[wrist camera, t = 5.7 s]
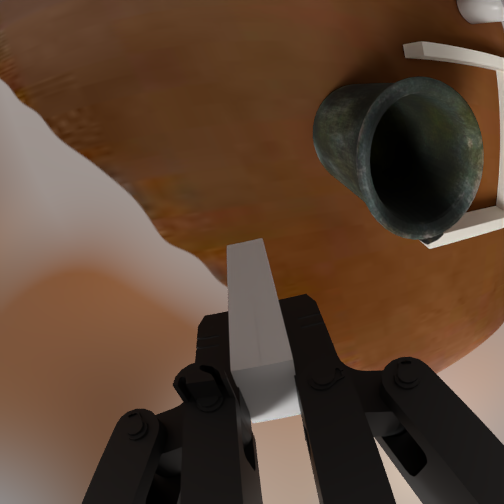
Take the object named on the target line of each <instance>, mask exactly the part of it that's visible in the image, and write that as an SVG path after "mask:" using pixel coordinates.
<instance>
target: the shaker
mask: <svg viewBox="0 0 504 504" xmlns="http://www.w3.org/2000/svg"><path fill="white" fill-rule="evenodd" d="M457 6H458V9H459V11H460V13H461V15H462V16H463V17H464V19H465V20H466V21H468V22H469V23H471V24H479V23H489V22H501V21H504V0H457Z"/></svg>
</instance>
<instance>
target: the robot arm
mask: <svg viewBox="0 0 504 504" xmlns="http://www.w3.org/2000/svg"><path fill="white" fill-rule="evenodd" d="M227 278H228V312H222V313H217V314H212V315H206V316H204V318H203V320H202V321H201V323H200V324H199V326H198V334H197V347H196V348H197V350H196V359H195V363H193V364H190V365H188V366H187V367H185V368H184V369H182V370H181V371H180V372H179V373H178V375H177V376H176V377H175V380H174V383H173V386H174V388H175V390H176V391H177V393H178V394H179V395H180V397H181V399H182V400H183V403H182V404H181V405H179V406H178V407H175V408H173V409H171V410H168V411H165V412H163V413H160V414H157V415H154V413H153V412H151V411H149V410H146V409H135V410H132V411H129V412H127V413H126V414H125V415H123V416H122V417H121V418H120V420H119V421H118V422H117V424H116V426H115V428H114V430H113V433H112V435H111V437H110V439H109V441H108V444H107V446H106V448H105V451H104V453H103V455H102V457H101V459H100V462H99V464H98V466H97V469H96V471H95V473H94V476H93V478H92V480H91V483H90V485H89V487H88V490H87V492H86V495H85V497H84V499H83V502H82V504H263V502H262V494H261V485H260V477H259V468H258V460H257V451H256V442H255V438H254V435H253V432H252V429H251V420H252V423H257V422H263V421H269V420H275V419H280V418H285V417H290V416H295V415H299V414H301V417H302V421H303V427H304V433H305V440H306V442H307V446H308V451H309V455H310V460H311V465H312V470H313V474H314V479H315V484H316V488H317V493H318V498H319V502H320V504H396V502H395V499H394V496H393V493H392V490H391V486H390V483H389V480H388V477H387V474H386V472H385V469H384V466H383V463H382V460H381V457H380V454H379V451H378V448H377V445H376V443H375V440H374V437H375V439H376V440H377V441H378V443H379V444H380V446H381V447H382V448H383V450H384V451H385V452H386V454H387V455H388V457H389V458H390V459H391V461H392V462H393V463H394V465H395V466H396V468H397V469H398V470H399V472H400V473H401V475H402V476H403V477H404V479H405V480H406V481H407V483H408V484H409V486H410V487H411V488H412V490H413V491H414V492H415V494H416V495H417V496H418V498H419V499H420V501H421V502H422V503H423V504H504V445H503V444H502V443H501V442H500V441H499V440H498V439H497V437H496V436H495V435H494V434H493V433H492V432H491V431H490V430H489V429H488V428H487V426H485V424H484V423H483V422H482V421H481V420H480V419H479V418H478V417H477V416H476V415H475V414H474V413H473V412H472V410H471V409H470V408H469V407H468V406H467V405H466V404H465V403H464V402H463V401H462V400H461V399H460V398H459V397H458V396H457V395H456V394H455V393H454V392H453V391H452V390H451V389H450V388H449V387H448V386H447V385H446V384H445V382H443V380H441V379H440V377H439V376H437V374H436V373H435V372H434V371H433V370H432V369H431V368H430V367H429V366H428V365H427V364H425V363H424V362H422V361H421V360H419V359H416V358H412V357H400V358H398V359H395V360H393V361H391V362H390V363H389V364H388V365H387V366H386V367H385V369H384V370H382V371H360V370H355V369H352V368H350V367H348V366H346V365H345V364H344V363H343V362H341V361H340V359H339V357H338V356H337V353H336V351H335V348H334V346H333V343H332V341H331V338H330V336H329V333H328V331H327V328H326V326H325V323H324V321H323V318H322V316H321V314H320V311H319V308H318V306H317V303H316V301H314V300H313V299H312V298H311V297H309V296H308V295H307V294H303V295H299V296H295V297H290V298H286V299H281V300H278V297H277V293H276V289H275V285H274V281H273V277H272V274H271V270H270V266H269V262H268V258H267V254H266V250H265V246H264V243H263V239H262V238H261V239H256V240H252V241H247V242H242V243H238V244H233V245H228V246H227Z"/></svg>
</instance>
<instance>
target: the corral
mask: <svg viewBox="0 0 504 504" xmlns="http://www.w3.org/2000/svg"><path fill="white" fill-rule="evenodd" d="M403 48H404V54H405V58H414V59H426V60H436V61H444V62H452V63H459V64H465V65H471V66H477V67H482V68H487V69H492V70H496V74H497V82H498V93H499V107H500V167H499V181H498V192H497V201H496V206H492V207H488V208H484V209H479V210H475V211H470V212H466V213H465V214H464V215H463V216H462V218H461V219H460V220H459V221H458V222H457V223H456V224H455V225H453V226H452V227H451V228H450V229H448V230H447V231H445V232H444V235H443V236H442V237H441V238H440V239H438V240H437V241H435V242H432V243H430V244H428V245H427V244H425V243H423V242H422V241H421V242H422V243H423V244H424V245H425V246H427V247H428V248H429V249H431V248H435V247H438V246H442V245H446V244H449V243H453V242H457V241H460V240H464V239H467V238H471V237H474V236H477V235H481V234H484V233H488V232H491V231H494V230H498V229H501V228H504V58H502V57H499V56H495V55H491V54H488V53H484V52H479V51H475V50H471V49H466V48H461V47H456V46H450V45H445V44H438V43H431V42H424V41H420V42H414V43H409V44H403Z"/></svg>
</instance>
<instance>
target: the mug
mask: <svg viewBox="0 0 504 504" xmlns="http://www.w3.org/2000/svg"><path fill="white" fill-rule="evenodd" d="M313 140H314V146H315V150H316V153H317V155H318V157H319V160H320V161H321V163H322V164H323V166H324V167H325V169H326V170H327V171H328V172H329V173H330V174H331V175H332V176H334V177H335V178H336V179H337V180H339V181H340V182H341V183H342V184H343V185H345V186H346V187H347V188H348V189H350V190H351V191H352V192H353V193H355V194H356V195H357V196H358V197H359V198H361V199H362V200H363V201H364V202H365V203H366V205H367V207H368V208H369V210H370V212H371V214H372V215H373V216H374V217H375V219H376V220H377V221H378V222H379V223H380V224H381V225H382V226H383V227H384V228H385V229H387V230H388V231H390V232H392V233H393V234H395V235H398V236H401V237H403V238H408V239H414V240H416V239H419V240H420V241H422V242H423V243H425V244H427V245H428V244H430V243H432V242H435V241H437V240H438V239H440V238H441V237H442V236H443V235H444V232H445V231H447V230H448V229H450V228H451V227H452V226H453V225H455V224H456V223H457V222H458V221H459V220H460V219H461V218H462V216H463V215H464V214H465V213H466V211H467V210H468V208H469V207H470V205H471V203H472V201H473V200H474V198H475V195H476V193H477V190H478V188H479V184H480V181H481V177H482V171H483V159H484V152H483V142H482V136H481V132H480V128H479V125H478V122H477V120H476V118H475V116H474V114H473V112H472V110H471V108H470V107H469V105H468V104H467V102H466V101H465V100H464V99H463V98H462V96H461V95H460V94H459V93H458V92H456V91H455V90H454V89H453V88H451V87H450V86H448V85H447V84H445V83H443V82H441V81H439V80H436V79H433V78H429V77H410V78H406V79H403V80H400V81H398V82H396V83H369V84H352V85H347V86H343V87H341V88H338V89H337V90H335V91H333V92H332V93H331V94H330V95H328V96H327V97H326V98H325V100H324V101H323V102H322V104H321V105H320V107H319V109H318V111H317V113H316V116H315V119H314V125H313Z"/></svg>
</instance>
